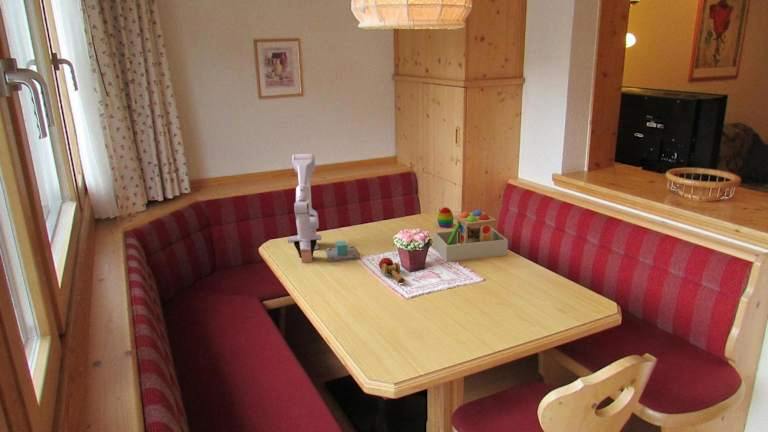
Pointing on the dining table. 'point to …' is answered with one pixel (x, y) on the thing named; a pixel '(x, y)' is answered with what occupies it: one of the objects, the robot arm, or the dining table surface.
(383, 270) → the kendama
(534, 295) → the dining table surface
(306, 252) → the terracotta brick
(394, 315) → the dining table surface
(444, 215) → the decorative egg
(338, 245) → the teal brick
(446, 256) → the toy tray
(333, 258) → the baseplate
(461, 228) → the pounding bench toy
